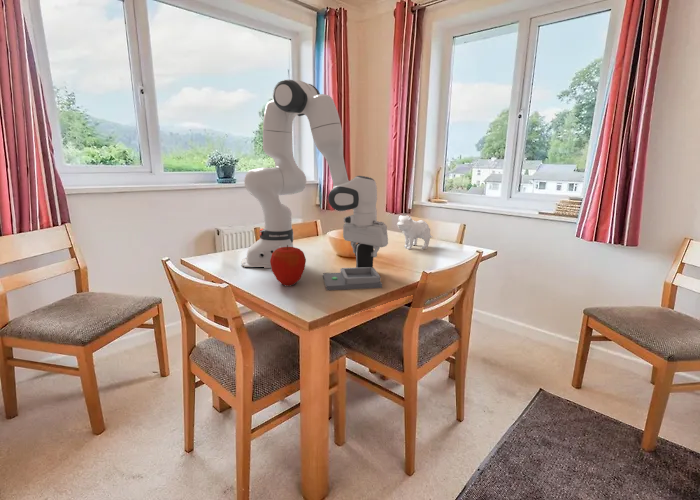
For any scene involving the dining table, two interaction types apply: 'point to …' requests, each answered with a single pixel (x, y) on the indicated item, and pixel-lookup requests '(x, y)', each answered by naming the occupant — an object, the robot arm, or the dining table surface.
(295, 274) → the apple
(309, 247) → the dining table surface
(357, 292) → the dining table surface
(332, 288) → the charging dock
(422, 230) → the white dog figurine
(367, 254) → the battery
